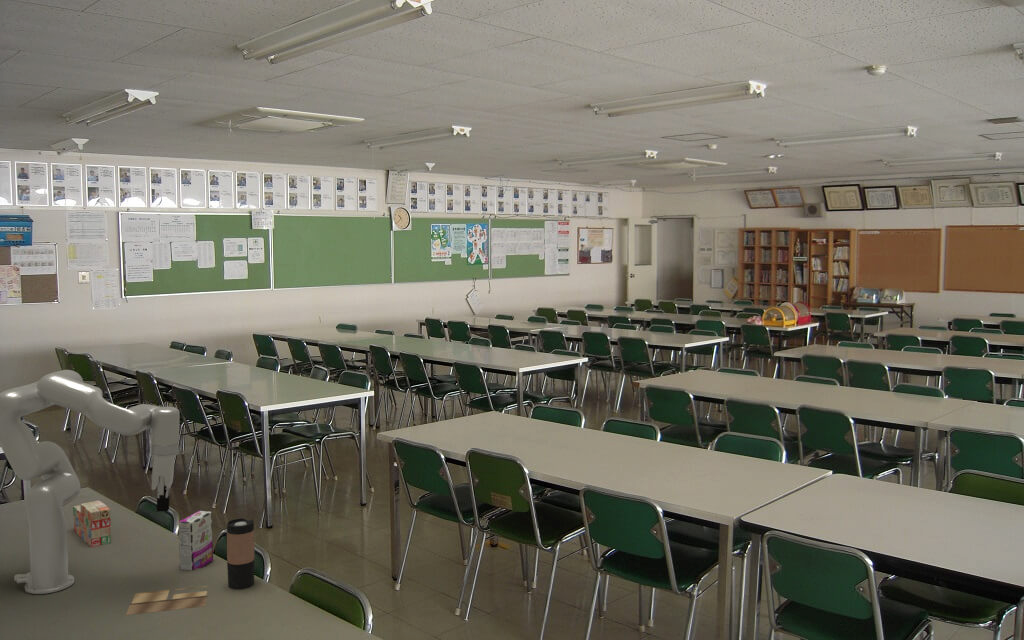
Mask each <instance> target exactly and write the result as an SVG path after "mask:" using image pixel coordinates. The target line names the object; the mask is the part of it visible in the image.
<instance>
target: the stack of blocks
mask: <svg viewBox="0 0 1024 640" xmlns="http://www.w3.org/2000/svg"><path fill="white" fill-rule="evenodd" d="M72 509H73V511H72V513H73V524H74V525H73V527H74V528H73V529H74V532H75V533H76V534H77V535H78V536H79V538H81V539H82V541H84V542H85V543H86V544H87V545H88V546H89V547H90V548H96V547H100V546H104V545H103V544H105V545H109V544H111V540H112V539H111V537H112V536H111V525H112V524H111V522H112V521H111V508H110V507H108V505H106V504H105V503H104V502H102V501H100V500H94V501H89V502H84V503H80V504H79V505H73V507H72ZM108 543H109V544H108ZM99 545H100V546H99ZM95 546H96V547H95Z"/></svg>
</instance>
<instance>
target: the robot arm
mask: <svg viewBox="0 0 1024 640" xmlns="http://www.w3.org/2000/svg"><path fill="white" fill-rule="evenodd" d="M103 394H104V393H103V391H102V388H100V387H98V386H94V385H92V384H89V383H86V382H84V380H83V377H82V375H80V373H78V372H76V371H74V370H72V369H71V370H70V369H62V370H58V371H53V372H51V373H50V372H49V373H48V374H45V375H43V376H42V377H41V378H40V379H39V380H37V381H35V382H32V383H29V384H26V385H25V384H24V385H21V386H17V387H12V388H9V389H6V390H4V391H2V392H0V447H1V450H2V452H3V454H4V456H5V457H6V459H7V461H8V463H9V465H10V467H11V469H12V470H13V472H14V474H15V475H16V477H18V478H19V479H20V480H23V481H33V480H36V479H39V478H41V479H42V481H39V482H37V483H35V484H34V485H33V486H31V487H30V488H29V490H28V491H27V493H26V494H25V498H24V506H25V507H24V509H25V511H26V515H27V520H28V534H29V561H30V562H29V563H30V565H29V566H30V572H27V573H24V574H23V573H19V574H14V578H13V580H14V582H16V584H23V583H25V585H24V591H25V592H26V593H29V594H32V595H42V594H43V595H45V594H46V595H47V594H52V593H56V592H60V591H62V590H66V589H67V588H69V587H71V586H72V585H73V584H74V582H75V577H74V575H72V574H69V558H68V554H69V553H68V552H69V551H68V549H69V548H68V528H67V527H68V525H67V520H66V517H65V514H64V511H63V507H65V506H66V505H69V504H70V503H71V502H73V501H75V500H76V498H78V496H79V494H80V492H81V483H80V482H81V481H80V479H79V477H78V475H77V473H76V471H75V470H74V468H73V465H72V464H71V461H70V460H69V458H68V456H67V455H66V453H65V450H64V449H63V448H62V447H60V445H58V444H57V443H55V442H52V441H49V440H47V441H40V442H38V441H37V439H36V437H35V435H34V433H33V431H32V430H31V428H30V427H29V426H28V425H27V424H26V423H25V422H24V421H22V420H21V419H22V417H23V416H24V417H25V416H27V415H30V414H32V413H36V412H39V411H42V410H44V409H47V408H49V407H52V406H54V405H56V406H60V407H62V408H65V409H67V410H71V411H74V412H76V413H79V414H82V415H84V416H86V417H87V418H88V419H89V420H90V421H91V422H92V423H94V424H95V425H97V426H98V427H100V428H102V429H104V430H108V431H109V432H113V433H116V434H118V435H122V436H135V435H137V434H139V433H141V432H143V431H146V430H151V431H150V456H151V457H153V461H152V471H151V475H152V476H151V488H150V489H151V490H152V491H155V490H156V489H157V497H156V512H168V511H169V510H170V489H171V487H172V484H173V480H174V474H175V456H178V455H179V454H180V453H179V450H180V449H179V447H180V410H179V408H177V407H174V406H157V405H154V404H153V405H152V404H148V403H141V404H137V405H135V406H131V407H129V408H125V407H123V406H119V405H116V404H114V403H111V402H109V401H108V400H106V399H105V398H104V397H103Z"/></svg>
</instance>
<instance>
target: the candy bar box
mask: <svg viewBox="0 0 1024 640" xmlns="http://www.w3.org/2000/svg"><path fill="white" fill-rule="evenodd" d="M212 513H213V512H212V511H208V510H207V511H206V510H198V511H195V512H194V513H192V514H191V515H188V516H187V517H185V518H182V519H181V520H179V521H178V524H177V525H178V545H179V546H178V549H179V571H183V570H184V571H185V570H186V571H194V570H196V569H203V568H204V567H206V566H207V565H209V564H210V563H212V562H213V561H214V548H213V547H214V545H213V515H212Z"/></svg>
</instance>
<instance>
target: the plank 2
mask: <svg viewBox="0 0 1024 640" xmlns="http://www.w3.org/2000/svg"><path fill="white" fill-rule="evenodd" d="M208 587H209V585H204V586H202V588H208ZM198 588H201V586H194V587H185V588H183V590H189V589H198ZM179 590H182V588H176V589H174V591H179ZM199 596H208V591H207V590H204V591H193V592H183V593H174V594H173V595H172V599H180V598H190V597H199Z"/></svg>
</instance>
